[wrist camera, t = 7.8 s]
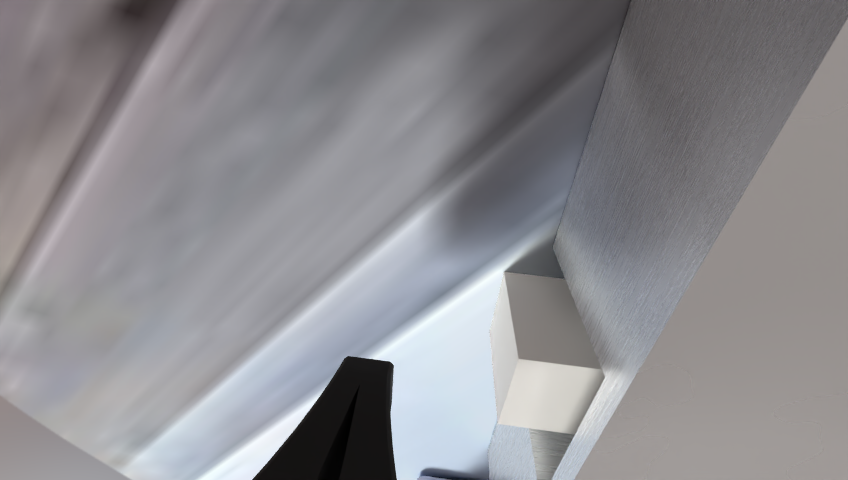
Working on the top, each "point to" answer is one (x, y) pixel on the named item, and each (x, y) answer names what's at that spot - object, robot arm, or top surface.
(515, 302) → the plug
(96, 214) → the top surface
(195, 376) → the top surface
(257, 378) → the top surface
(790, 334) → the grey long block
